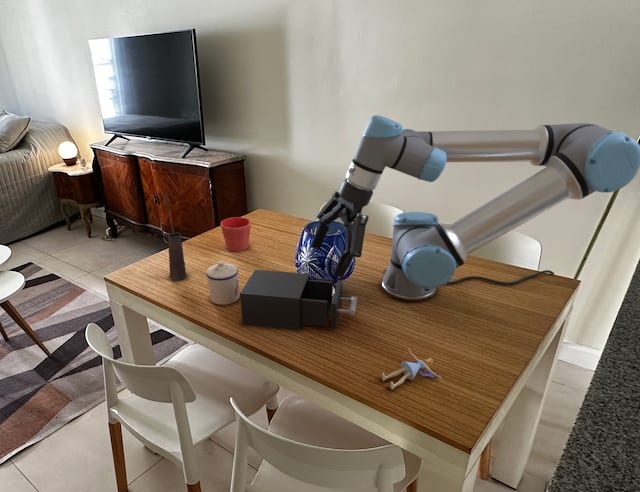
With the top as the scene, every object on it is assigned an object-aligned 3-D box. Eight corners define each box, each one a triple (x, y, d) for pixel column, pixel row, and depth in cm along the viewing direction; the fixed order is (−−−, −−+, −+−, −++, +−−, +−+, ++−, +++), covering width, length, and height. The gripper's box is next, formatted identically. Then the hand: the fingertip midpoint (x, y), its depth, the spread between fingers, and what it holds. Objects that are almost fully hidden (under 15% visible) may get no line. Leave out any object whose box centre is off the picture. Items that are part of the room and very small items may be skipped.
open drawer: (357, 306, 124) (359, 281, 120) (353, 331, 114) (354, 305, 110) (290, 300, 129) (289, 276, 125) (280, 324, 118) (279, 298, 114)
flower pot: (258, 244, 166) (256, 219, 161) (240, 255, 158) (238, 229, 153) (235, 239, 171) (233, 214, 167) (217, 250, 163) (214, 224, 159)
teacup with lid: (243, 302, 130) (240, 266, 125) (212, 308, 128) (207, 271, 123) (234, 283, 140) (231, 249, 135) (205, 288, 138) (200, 254, 133)
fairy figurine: (371, 357, 100) (415, 338, 104) (372, 373, 103) (415, 354, 106) (403, 389, 91) (451, 367, 94) (403, 406, 93) (450, 384, 97)
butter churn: (194, 283, 142) (181, 197, 128) (163, 286, 141) (147, 199, 127) (195, 270, 150) (182, 187, 136) (165, 273, 149) (150, 190, 135)
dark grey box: (309, 303, 128) (309, 273, 124) (299, 330, 117) (299, 298, 112) (256, 298, 132) (254, 269, 127) (242, 324, 120) (239, 293, 116)
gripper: (323, 161, 113) (295, 235, 123) (373, 205, 95) (334, 287, 105) (348, 167, 117) (318, 238, 127) (400, 210, 98) (360, 290, 108)
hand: (325, 261), depth 116 cm, fingers open, 13 cm apart
